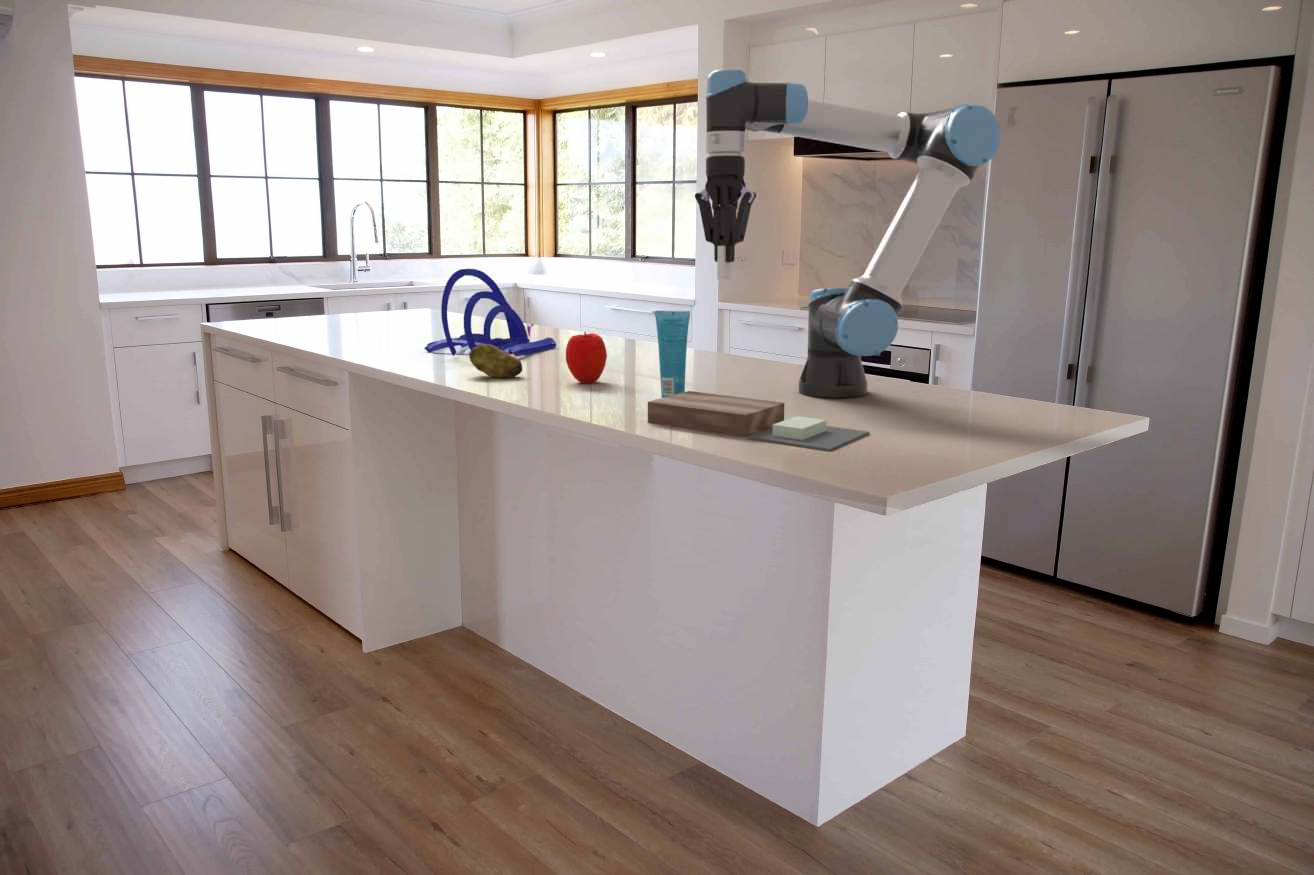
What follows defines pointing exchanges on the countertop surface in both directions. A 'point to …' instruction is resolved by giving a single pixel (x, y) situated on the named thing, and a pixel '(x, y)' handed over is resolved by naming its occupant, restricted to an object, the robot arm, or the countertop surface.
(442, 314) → the sculpture
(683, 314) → the tube
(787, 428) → the pale green block
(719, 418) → the board
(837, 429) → the mat
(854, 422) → the countertop surface
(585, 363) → the apple
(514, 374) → the potato
